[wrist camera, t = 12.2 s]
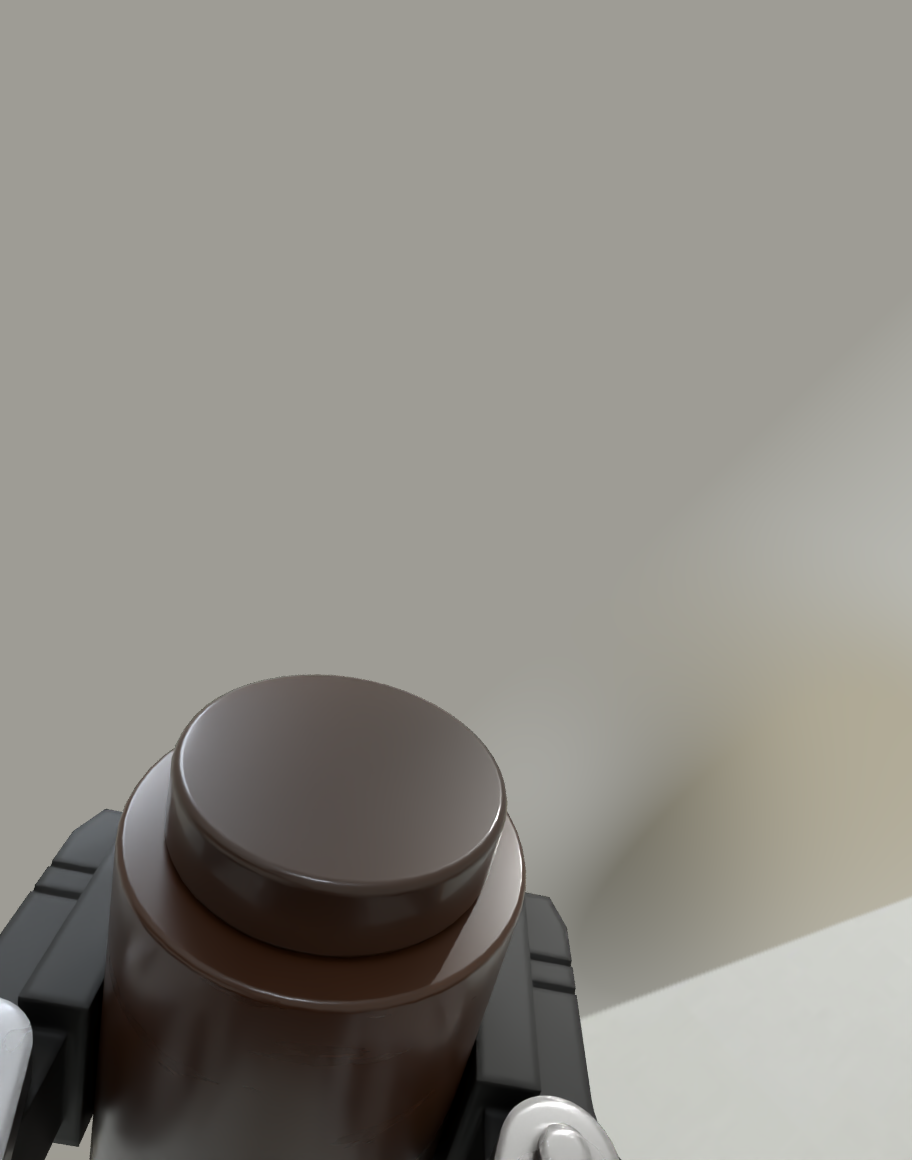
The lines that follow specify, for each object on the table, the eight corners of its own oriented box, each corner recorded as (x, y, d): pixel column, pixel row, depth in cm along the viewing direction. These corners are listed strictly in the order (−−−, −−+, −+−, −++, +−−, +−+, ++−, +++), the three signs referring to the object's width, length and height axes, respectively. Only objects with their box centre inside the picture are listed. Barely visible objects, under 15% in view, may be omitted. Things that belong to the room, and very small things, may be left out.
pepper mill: (8, 1352, 10) (19, 741, 6) (234, 1114, 14) (328, 621, 10) (213, 1639, 9) (389, 1042, 5) (414, 1288, 12) (610, 773, 8)
